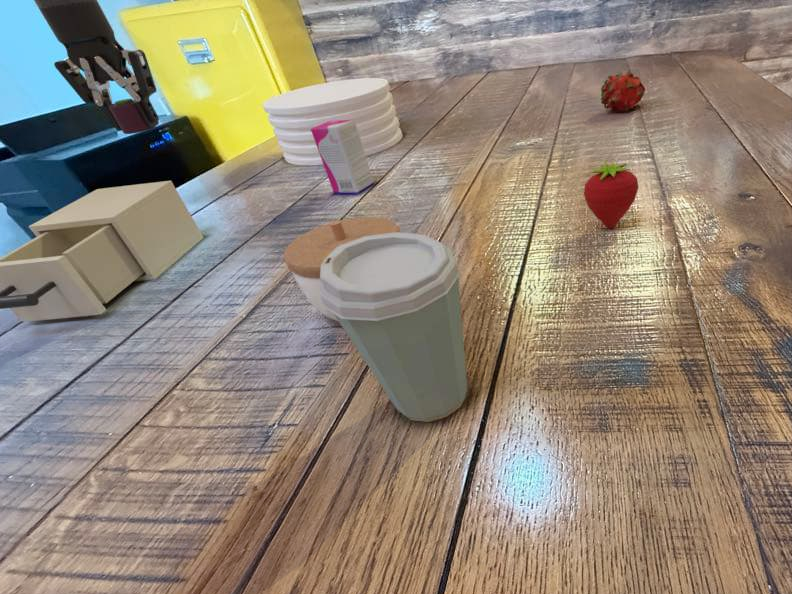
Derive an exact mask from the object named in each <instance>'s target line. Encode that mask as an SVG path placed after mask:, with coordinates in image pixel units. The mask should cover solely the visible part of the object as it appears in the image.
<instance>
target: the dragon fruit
mask: <svg viewBox="0 0 792 594" xmlns="http://www.w3.org/2000/svg"><path fill="white" fill-rule="evenodd" d="M607 78H608V79H606V80H605V81H604V82H603V85H601V87H600V89H601V90H600V92H601V94H600V97H601V98H600V102H601V104H602V105H603V107H604V109H610V110H611V111H612V113H614V114H616V113H617V112H619V110H620V111H621V112H625V113H626V112H628V111H629V110H636V109H638V108H639V104H638V103H639V102H641V101H642V99H643V97H644V96H645V93H646V88H645V86H644V84H643V83H642V80H641V78H640V76H634V73H633V72H632V71H627V73H626V74H623V72H621V71H619V72H618V74H616V75H615V76H614V75H611V74H610V75H608V76H607Z"/></svg>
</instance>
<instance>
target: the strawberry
mask: <svg viewBox="0 0 792 594" xmlns="http://www.w3.org/2000/svg"><path fill="white" fill-rule="evenodd" d="M611 156H612V154H610V155H609V156H608V158H607V159H606V160H605V162H604V164H602V163H600V168H598V169H594V170H592V171H591V170H590V171H589V174H594V175H592V176H591V177H590V178H589V179H588V180H587V181H586V183H584V190H583V196H584V199H585V202H586V205H587V207H588V209H590V211H591V212H592V214H593V215H594V216H595V217H596V218H597V219H598V220H599V221H600V222H601V223H602V224H603V226H605V227H606V228H607V229H612V228H615V227H616V226H617V225H618V223H619V222H620V220H621V219H622V218H623V217H624V216H625V215H626V214H627V212H628V211H629V210H630V208H631V206H633V203H634V202H635V200H636V196H637V194H638V190H639V183H638V177H637V176H636V175H635V174H634V173H633V172H631V169H630V168H626V166H627V165H628V163H624V164H623V163H622V164H618V165H616V164H615V163H612V164H607V162H608V161H609V160H610V158H611Z"/></svg>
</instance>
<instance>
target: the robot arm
mask: <svg viewBox="0 0 792 594" xmlns="http://www.w3.org/2000/svg"><path fill="white" fill-rule="evenodd" d="M33 1H34V3H35V4H36V6H37V8H38V10H39V11H40V13H41V14H42V17H43V18H44V20H45V21H46V23H47V25H48V26H49V28H50V30H51V31H52V33H53V35H54V36H55V39H56V40H57V41H58V42H59V43H60V44H62V45H63V46H64V48H65V50H66V54H67V55H66V56H67V58H64V59H62V60H58V61H55V62H54V64H53V65H54V68H55V69H56V70H57V71H58V73H60V75H61V76H62V77H63V78H64V80H65V81H66V82H67V83H68V85H69V86H70V87H71V88H72V89H73V90H74V92H75V93H76V94H77V95H78V96H79V98H80V99H81V100H82V102H84V103H85V104H94V105H97V106H98V107H99V108H100V109H101V110H102V112H103V114H104V115H105V117H106V118H107V121H108V122H109V124H110V125H111V126H112V127H113V128H115V130H116V131H117V132H123V131H122V130H121V128H120V126H119V125H118V123H117V121H116V120H115V118H114V116H113V115H112V113H111V111H110V109H109V108H108V106H110V105H113V104H114V103H113V98H112V96H111V90H110V88H111V84H110V83H111V82H115V83H116V85H118V87H120V89H124V90H125V91H126V93H127V94H128V95H129V96H130V97H131V99H133V100H135V101H137V102H135V104H136V106H137V108H138V109H139V111H140V113H141V115H142V117H143V118H144V120H145V122H146V124H147V125H148V126H149V127H154V126H156V127H157V126H158V125H159V121H160V118H159V115H158V113H157V111H156V109H155V108H154V106H153V104H152V102H151V100H150V97H151V96H152V95H153V94H155V93H156V92H157V86H156V84H155V81H154V77H153V75H152V71H151V68H150V65H149V62H148V58H147V55H146V53H145V52H144V51H143V50H142V49H136V50H130V49H124V47H123V46H122V45H121V44H120V43H119V42H118V40H117V38H116V36H115V31H114V29H113V27H112V26H111V24H110V22H109V20H108V18H107V16H106V14H105V12H104V11H103V9H102V7H101V5H100V3H99V1H98V0H33ZM127 64H128V65H129V66H131V68H132V71H131V69H129V67H128V66H127ZM81 71H82V72H83V73H84V74H83V73H81Z"/></svg>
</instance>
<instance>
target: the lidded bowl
mask: <svg viewBox="0 0 792 594" xmlns="http://www.w3.org/2000/svg"><path fill="white" fill-rule="evenodd" d="M394 232H398V233H401V231H400V228H399V226H398V224H396V223H395V222H394V221H392V220H390V219H387V218H383V217H377V216H376V217H375V216H374V217H373V216H362V217H352V218H347V219H346V218H345V219H342V220H333V221H331V222H328V223H326V224H324V225H323V224H322V225H320V226H317V227H315V228H313V229H310V230H309V231H307V232H304V233H303V234H301V235H299V236H298V237H297V238H295V239H294V240H292V241H291V242H290V243H289V244H288V245H287V246H286V248H285V250H284V253H283V260H284V262H285V265H286V266H287V268H288V270H290V272H291V273H292V276H293V278H294V280H295V282H296V284H297V286H298V287H299V289H300V291H301V292H302V293H303V295H304V297H305V298H306V300H307V301H308V302H309V303H310V304H311V305H312V307H314V308H315V309H316V310H317V311H318V312H319V313H321V314H322V315H324V316H325V317H327V318H329V319H331V320H333V321H336V322H339V321H338V320H337V318H336V317H335V315H334V314H333V313H332V312H331V311H329V310H328V309H326V308H324V307H323V301H322V299H321V296H320V295H321V279H320V269H321V264H322V263H323V261H324V259H325V258H326V257H327V256H328V255H329V254H330V253H331V252H332V251H333V250H334V249H335V248H337V247H338V246H340V245H343V244H345V243H348V242H351V241H354V240H356V239H359V238H362V237H365V236H371V235H379V234H386V233H394Z"/></svg>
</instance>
